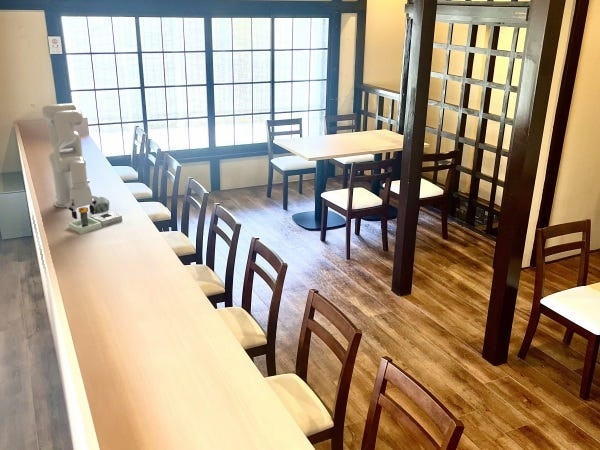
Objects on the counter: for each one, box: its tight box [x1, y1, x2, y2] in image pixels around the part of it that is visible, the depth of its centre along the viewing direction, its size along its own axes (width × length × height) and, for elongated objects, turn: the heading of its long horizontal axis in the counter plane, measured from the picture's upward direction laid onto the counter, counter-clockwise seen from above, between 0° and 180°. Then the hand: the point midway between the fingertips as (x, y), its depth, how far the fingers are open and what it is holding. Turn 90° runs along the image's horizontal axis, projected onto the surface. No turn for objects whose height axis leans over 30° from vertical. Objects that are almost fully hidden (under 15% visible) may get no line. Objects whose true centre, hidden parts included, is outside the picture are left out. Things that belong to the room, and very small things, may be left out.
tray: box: [67, 216, 103, 235], centre depth 294 cm, size 12×12×3 cm
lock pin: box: [77, 206, 89, 227], centre depth 292 cm, size 5×5×10 cm
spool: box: [94, 196, 110, 214], centre depth 316 cm, size 14×10×10 cm
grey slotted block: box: [89, 209, 123, 228], centre depth 304 cm, size 12×12×3 cm
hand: (83, 215), depth 292 cm, fingers open, 9 cm apart
